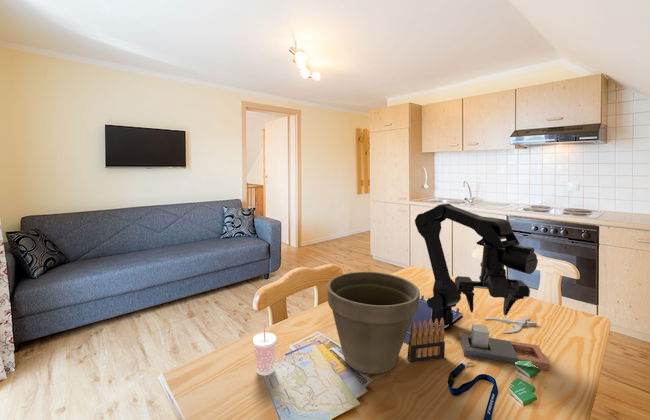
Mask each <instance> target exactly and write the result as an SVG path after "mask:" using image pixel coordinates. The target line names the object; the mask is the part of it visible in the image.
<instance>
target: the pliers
mask: <svg viewBox="0 0 650 420" xmlns="http://www.w3.org/2000/svg"><path fill="white" fill-rule="evenodd" d="M531 320H532V319H531V317H522V318H521V317H520V318H518V319H517V320H513V319H512V320H511V319H509V318H503V317H485V318H484V321H500V322H502V323H504V324H509V325H510V326H511V327H510V328H511V329H509V330H505V331H501V334H513V333H518V332H520V331H521V330H522V328H523V327H537V325H538V324H537V323H538V322H537V321H531ZM511 324H512V325H511ZM514 324H516V325H515V327H514Z"/></svg>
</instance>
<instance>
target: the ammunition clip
mask: <svg viewBox="0 0 650 420" xmlns="http://www.w3.org/2000/svg"><path fill="white" fill-rule="evenodd" d="M415 322H416V321H415V320H413V321H411V325H410V326H411V327H410V334H409V342H408V348H407V356H406V357H407V360H408V362H409V363H410V364H412V363H421V362H426V361H434V360H435V361H436V360H442V359H445V358H446V357H445V355H446V354H445V353H446V352H445V351H446V350H445V349H446V348H445V347H446V342H445V328H444V319H443V318H442V319H441V321H440V327H439V324H438V319H437V318H436V320H435V323H434V326H433V322H432V319H431V318H430V320H429V322H428V321H427V319H424V321H423V325H422V322H421V319H420V320H418V321H417V325H416V323H415Z"/></svg>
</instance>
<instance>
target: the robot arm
mask: <svg viewBox="0 0 650 420" xmlns="http://www.w3.org/2000/svg"><path fill="white" fill-rule="evenodd" d="M447 219H448V220H450V221H453V222H455V223H458V224H460V225H462V226H464V227H467V228H470V229H472V230H473V231H475V233H476V234H477V235H478V236H480V237H481V239H480V240H478V241H476V242H475V243H476V245H479V246H483V247H482V248H483V249H482V259H481V262H480V267H481V269H480V270H481V271H480V275H479V276H478V277H479V278H478V279H479V281H477V280H476V281H475V280H472V278H471V277H470V276H460V275H458V276H456V277H455V279H454V280H453V279H452V278H451V276H450V273H449V269H448V264H447V261H446V257H445V253H444V250H443V246H442V245H443V244H442V242H441V239H440V235H441V230H442V222H444V221H446V220H447ZM414 224H415V226H416V228H417V232H418V233H419V235H420V236H421V237H422V238H423V239H424V242H425V246H426V250H427V253H428V258H429V261H430V266H431V270H432V273H433V277H434V282H433V286H432V293H433V296H432V297H431V296H430V298H428V299H427V300H426V304H427V307H428V308H430V309H431V311H430V312H431V315H430V319H432V322H433V323H435V320H436V318H437V319H438V324H439V325H440V321H441V319H442V318H443V319H444V325H448V324H449V326H448V327H447V328H446V329H447V330H448V329H449V330H451V329H452V326H453V323H454V310H453V309H452V308H454V307H456V306H457V304H458V303H460V301H461V299H462V294H463V295H465V297H466V301H467V305H468V307H469V311H470V314H471V313H472V314H473V313H474V296H475V293H474V291H475V289H483V290H484V289H486V290H488V292H489V293H488V294H489V296H490V297H492V298H502V299H503V300H504V301H503V308H502V309H503V311H502V312H503V315H504V316H507V315H508V314H509V312H510V310H511V309H512V307H513V305H514V304H515V303H516V302H517V301H519V300H523V299H525V298H530V294H531V289H530V287H529V286H528V285H527V284H526V283H525V282H523V281H522V280H519V279H511V278H507V270H506V269H505V267H506V268H508V269H510V270H514V271H517V272H521V273H524V274H526V275H532V274H533V273H534V272H535V271H536V269H537V267H538V263H539V260H538V256H537V253H535V248H534V247H531V246H522V245H520V244H521V243H520V242H519V240H518V238H517V236H516V235H515V233H514V232H513V229H512V225H511V222H509V220H507V219H503V218H498V217H489V216H482V215H479V214H476V213H473V212H471V211H467V210H465V209H462V208H460V207H457V206H454V205H452V204H450V203H442V204H438V205H436V206H434V207H433V208H431V209H429V210H426V211H424V212H422V213H419V214H417V215H416V217H415V219H414Z"/></svg>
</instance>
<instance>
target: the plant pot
mask: <svg viewBox="0 0 650 420" xmlns="http://www.w3.org/2000/svg"><path fill="white" fill-rule="evenodd" d="M326 288H327V289H326V290H327V291H326V292H327V303H328V306H329V308H330V309H331V310H332V315H333V318H334V319H333V320H334V322H335V327H336V331H337V332H336V333H337V334H338V339H339V343H340V347H341V350H342V354H343V358H344V361H345V363H346V364H347V365H348V366H349V367H351V368H352V369H353V370H355V371H357V372H359V373H364V374H368V375H378V374H384V373H387V372H389V371H390V370H392V369H393V368H394V367H395V365H396V363H397V361H398V358H399V355H400V354H401V353H400V352H401V350H402V347H403V345H404V342H405V339H406V336H407V334H408V331H409V328H410V326H411V324H412V320H413V317H414V316H415V315H416V314H417V312H418V310H419V305H420V304H419V303H420V295H421V293H420V292H421V291H420V289H419V288H418V286H417V285H415V284H414V283H413V282H412V281H410V280H408V279H406V278H403V277H401V276H397V275H394V274H390V273H386V272H385V273H384V272H377V271H357V272H356V271H354V272H353V271H352V272H347V273H343V274H340V275H337V276H334V277H333V278H332V279H330V280H329V281H328V283H327V286H326Z"/></svg>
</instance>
